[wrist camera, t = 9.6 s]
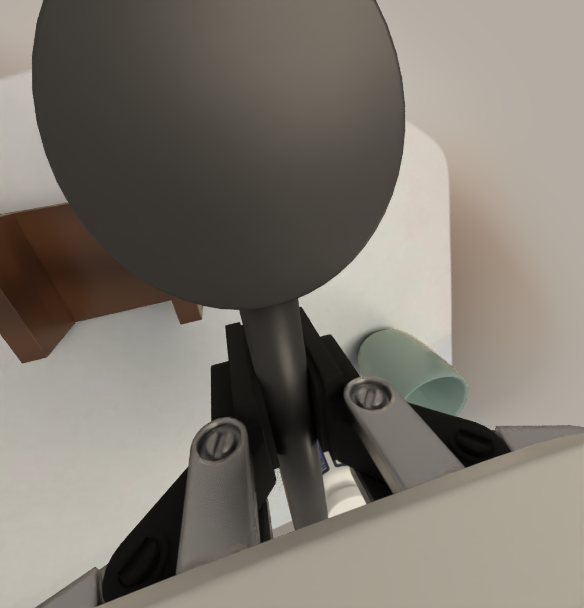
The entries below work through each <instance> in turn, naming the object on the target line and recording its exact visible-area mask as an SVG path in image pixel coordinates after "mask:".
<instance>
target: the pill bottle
mask: <svg viewBox="0 0 584 608" xmlns="http://www.w3.org/2000/svg"><path fill="white" fill-rule="evenodd" d="M318 446H319V453H320V460H321V468H322V475H323V482H324V489H325V496H326V503H327V511H328V518H331V517H333V516H336V515H339V514H341V513H344V512H347V511H349V510H352V509H355V508H358V507H360V506H363V505H366V502H365V500H364V498H363V496H362V494H361V492H360V490H359V488H358V487H357V485H356V483H355V481H354V479H353V477H352V475H351V472H350V469H349V466H347V465H345V464H343V463H340V462H338V460H336V461H332V459H331V456H330V454H329V451H328V452H325V453H323V452H322V450H321V447H320V445H319V442H318Z"/></svg>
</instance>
